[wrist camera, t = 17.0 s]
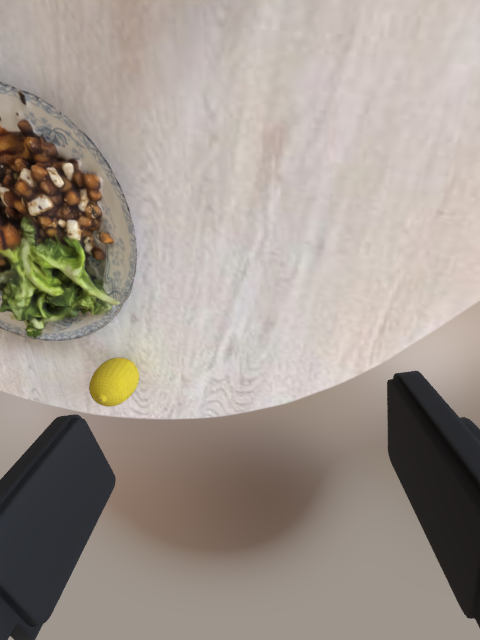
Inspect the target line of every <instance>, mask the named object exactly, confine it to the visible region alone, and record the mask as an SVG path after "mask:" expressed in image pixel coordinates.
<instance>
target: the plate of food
mask: <svg viewBox="0 0 480 640" xmlns="http://www.w3.org/2000/svg"><path fill="white" fill-rule="evenodd" d="M136 262H137V249H136V238H135V230H134V226H133V222H132V218H131V214H130V210H129V207H128V205H127V202H126V200H125V197H124V194H123V192H122V189H121V187H120V185H119V183H118V181H117V179H116V178H115V176H114V174H113V172H112V170H111V168H110V166H109V164H108V163H107V161H106V160H105V158H104V157H103V155H102V154H101V152H100V151H99V150H98V149H97V147H96V146H95V145H94V143H93V142H92V141H91V140H90V138H89V137H88V136H87V135H86V134H85V133H83V132H82V131H81V130H79V129H78V128H77V127H76V126H75V125H74V124H73V123H72V122H71V121H70V120H69V119H68V118H67V117H66V116H65V115H64V114H62V113H61V112H60V111H58V110H57V109H55V108H54V107H53V106H51V105H50V104H48V103H47V102H45V101H44V100H42V99H40V98H39V97H37V96H35V95H33V94H31V93H28V92H25V91H21V90H18V89H16V88H14V87H12V86H10V85H8V84H6V83H2V82H0V328H2V329H4V330H7V331H9V332H12V333H14V334H16V335H20V336H23V337H28V338H32V339H38V340H45V341H62V340H71V339H76V338H81V337H83V336H86V335H89V334H91V333H93V332H95V331H97V330H99V329H101V328H102V327H104V326H105V325H106V324H108V323H109V322H110V321H111V320H112V319H113V318H114V317H115V316H116V315H117V314H118V312H119V311H120V309H121V307H122V305H123V303H124V302H125V301H126V299H127V298H128V297H129V295H130V293H131V290H132V285H133V280H134V276H135V272H136Z"/></svg>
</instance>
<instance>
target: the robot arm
mask: <svg viewBox="0 0 480 640" xmlns="http://www.w3.org/2000/svg"><path fill="white" fill-rule="evenodd" d="M387 401H388V403H387V405H388V453H389V457H390V460H391V463H392V465H393V467H394V469H395V471H396V474H397V476H398V478H399V480H400V482H401V484H402V486H403V488H404V490H405V493H406V494H407V497H408V499H409V501H410V503H411V505H412V507H413V509H414V511H415V513H416V515H417V518H418V520H419V522H420V524H421V526H422V528H423V530H424V532H425V534H426V536H427V539H428V540H429V543H430V545H431V547H432V549H433V551H434V553H435V555H436V557H437V559H438V562H439V563H440V566H441V568H442V570H443V572H444V574H445V576H446V578H447V580H448V582H449V585H450V587H451V589H452V591H453V593H454V595H455V597H456V599H457V601H458V603H459V605H460V607H461V609H462V610H463V612H464V614H465V615H466V616H467V618H475V619H476V621H477V623H478V625H479V627H480V429H479V428H478V427H477V426H476V425H475V424H474V423H473V422H472V421H470V419H467V418H465V417H462V418H459V417H458V415H456V413H455V412H454V411H453V410H452V409H451V408H450V406H449V405H448V404H447V403H446V402H445V401H444V400H443V398H442V397H441V396H440V395H439V394H438V393H437V391H436V390H435V389H434V388H433V387H432V386H431V385H430V383H429V382H428V381H427V380H426V379H425V378H424V377H423V375H422V374H421V373H420V372H418V371H411V372H404V373H396V374H394V378H393V379H391V380H388V382H387ZM114 486H115V475H114V473H113V471H112V469H111V467H110V466H109V464H108V462H107V460H106V458H105V456H104V454H103V452H102V451H101V449H100V447H99V445H98V443H97V442H96V439H95V437H94V435H93V434H92V432H91V430H90V428H89V426H88V424H87V422H86V421H85V420H84V419H82V418H81V417H80V416H79V415H68V416H61V417H57V418H56V419H55V420H54V421H53V422H52V423H51V424H50V425H49V426H48V427H47V429H46V430H45V431H44V432H43V433H42V434H41V435H40V436H39V438H38V439H37V440H36V441H35V442H34V443H33V444H32V445H31V446H30V448H29V449H28V450H27V451H26V452H25V453H24V454H23V455H22V456H21V458H20V459H19V460H18V461H17V462H16V463H15V464H14V465H13V466H12V468H11V469H10V470H9V471H8V472H7V473H6V474H5V475H4V476H3V478H2V479H1V480H0V640H8V638H9V636H11V637H12V638H13V639H14V640H35V639H36V637H37V635H38V633H39V631H40V629H41V627H42V625H43V623H45V622H46V621H47V620H48V619H49V617H50V616H51V614H52V612H53V610H54V608H55V606H56V604H57V602H58V600H59V598H60V596H61V594H62V592H63V590H64V588H65V586H66V583H67V582H68V580H69V578H70V576H71V574H72V571H73V570H74V568H75V565H76V564H77V561H78V559H79V557H80V555H81V553H82V551H83V549H84V547H85V545H86V543H87V541H88V539H89V537H90V535H91V533H92V531H93V529H94V527H95V525H96V523H97V521H98V519H99V517H100V515H101V513H102V510H103V509H104V507H105V505H106V503H107V501H108V499H109V497H110V495H111V493H112V490H113V488H114Z"/></svg>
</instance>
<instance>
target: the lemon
mask: <svg viewBox="0 0 480 640" xmlns="http://www.w3.org/2000/svg"><path fill="white" fill-rule="evenodd" d="M138 381H139V373H138V369H137V367H136V366H135V364H134V363H133V362H131V361H130V360H128V359H125V358H113V359H110V360H108V361H106V362H104V363H103V364H101V365H100V367H99V368H98V369H97V370H96V371H95V372H94V374H93V376H92V379H91V381H90V387H89V390H90V394H91V396H92V398H93V399H94V400H95V401H96V402H97V403H99V404H100V405H103V406H115V405H118V404H121V403H122V402H124V401H125V400H127V399H128V398H129V397H130V396H131V395H132V393H133V392H134V391H135V389H136V387H137V384H138Z"/></svg>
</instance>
